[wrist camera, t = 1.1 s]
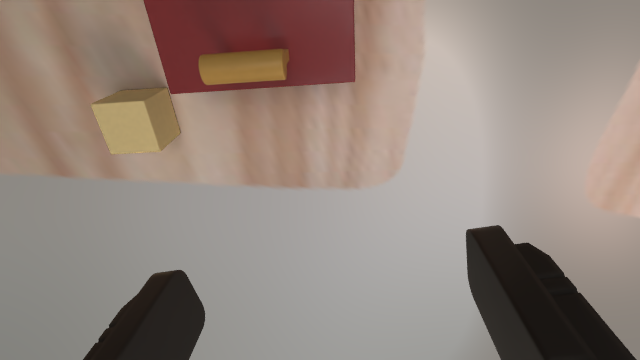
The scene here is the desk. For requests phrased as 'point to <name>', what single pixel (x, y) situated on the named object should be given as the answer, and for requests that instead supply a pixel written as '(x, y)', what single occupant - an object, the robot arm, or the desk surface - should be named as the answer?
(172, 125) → the tan cube
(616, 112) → the desk surface
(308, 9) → the cover
